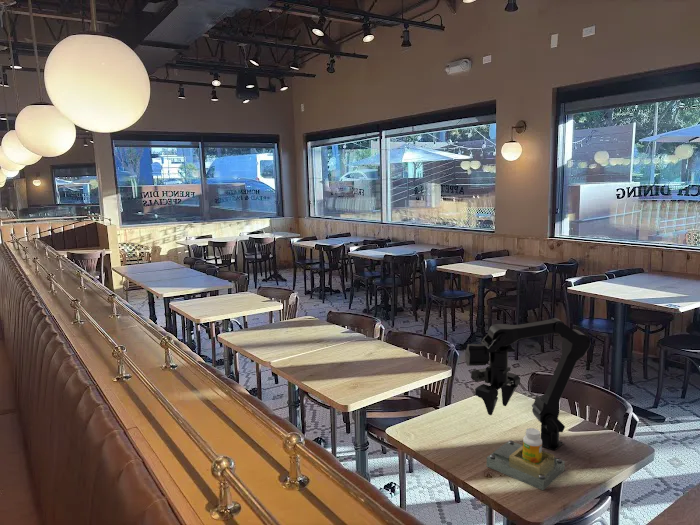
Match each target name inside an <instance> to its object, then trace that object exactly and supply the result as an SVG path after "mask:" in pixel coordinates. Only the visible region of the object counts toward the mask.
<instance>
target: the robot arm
mask: <svg viewBox="0 0 700 525" xmlns="http://www.w3.org/2000/svg"><path fill="white" fill-rule="evenodd" d="M552 334H557V335H559V337H562V341H561V342H562V343H561V356H560V358H559V360H558V362H557V365H556V367H555V369H554V372H553V374H552V376H551V379H550V382H549V383H548V386H547V388H546V390H545V392H544V394H543V395H541V396H539V395H536V396H535V398H534V402H533V403H532V404H531V407H532V413H533V416H534V417H535V418H536V419H537V421H538V422H539V423H540V438H541V439H542V448H547V449H549V450H552V451H556V450H558V448H560V447H561V446H562V445H563V444H564V442H563V441H562V440H560V433H563V432H564V430H565V428H566V426H565V425H564V423H562V421H560V419H559V415H560V400H561V399H562V397H563V393H564V392H565V389H566V387H567V386H568V382H569V380H570V378H571V377H572V376H571V375H572V374H573V371H574V368H575V366H576V364H577V362H578V361H579V360H581V359H582V358H583V357H584V356H585V355H586V354H587V352H588V350H589V349H590V347H591V340H590V338H589V337H588V336H587V335H586V334H584V333H583V332H581V331H579V330H577V329H573V328H571V327H570V326H568V325H566V324H565V323H564V322H563V321H562V320H560V319H559V318H556V317H553V318H550V319H546V320H540V321H539V320H537V321H531V322H528V323H521V324H509V323H508V324H507V323H495V324H492V325H491V326H490V327H489V329H488V332H487V334H486V335H485V336H484V337H483V338H482V340H481V342H480V344H479V343H476V344H473V343H468V344H466V345H467V347H466V348H465V351H464V358H465V364H466V366H468V367H469V366H470V367H473V366H478V367H479V366H486V367H485V368H484V367H483V368H479V369H476V370H475V369H473V370H471V373H470V378H471V380H472V381H474V382H475V383H476V382H477V383H478V382H482V381H483V382H484V383H485V384H484V383H482V384H480V385H478V386H477V387H475V389H474V395H475V396H476V397H478V398H480V399H482V401H483V404H484V406H485V409H486V412H487V415H489V416H492V415H493V413H494V410H495V408H496V406H497V402H498V399H499V397H498V395H499V390H500V391H501V402H502V406H504V407H507V405H508V404H509V402H510V400H511V398H512V397H513V395H514V393H515V391H516V390H517V388H518V387H519V385H520V384H521V377H520V376H519V374H516V373H511V372H510V371H511V367H510V366H509V353H514V352H516V349H515V348H514V347H513V346H512V345H513V344H514V343H516V342H517V341H519V340H522V339H529V338H534V337H535V338H536V337H541V336H546V335H552ZM487 365H488V366H487Z"/></svg>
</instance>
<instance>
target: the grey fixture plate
mask: <svg viewBox="0 0 700 525" xmlns="http://www.w3.org/2000/svg"><path fill="white" fill-rule="evenodd" d="M522 455H523V444H520V443H517V442H514V441H513V440H508V441H507V442H505V443H504V444H502V445H500V447H498V448H496V450H494V451H493V452H492V453H490V454H489V455H488V456H486V464H485V465H486V466H485V467H487V468H489V469H492V470H494V471H496V472H498V473H501V474H504V475H506V476H508V477H511V478H513V479H515V480H518V481H520V482H522V483H523V484H527V485H530V486H532V487H534V488H536V489H538V490H541V491H545V490H546V488H548V487H550V485H551V484H552V483H553V482H554V481H555V480H556V479H557V478H558V477H559V476H560V475H561V474H562V473H564V471H565V467H566V466H565V465H566V464H565V463H566V461H565V460H563V459H562V458H559V457H555V454H553V453H551V452H547V451H544V450H542V460H541V463H540V464H539V465H537V464H534V463H531V462H529V461H526V460H524V459H522Z"/></svg>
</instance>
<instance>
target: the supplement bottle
mask: <svg viewBox="0 0 700 525" xmlns="http://www.w3.org/2000/svg"><path fill="white" fill-rule="evenodd" d="M522 445H523V455H522V459H524V460H526V461H529V462H531V463H534V464H537V465H539V464H540V463H541V460H542V451H543V446H542V439H541V430H539V429H537V428H534V427H533V428H532V427H530V428H529V427H527V429H525V435H524V436H523V438H522Z"/></svg>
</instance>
